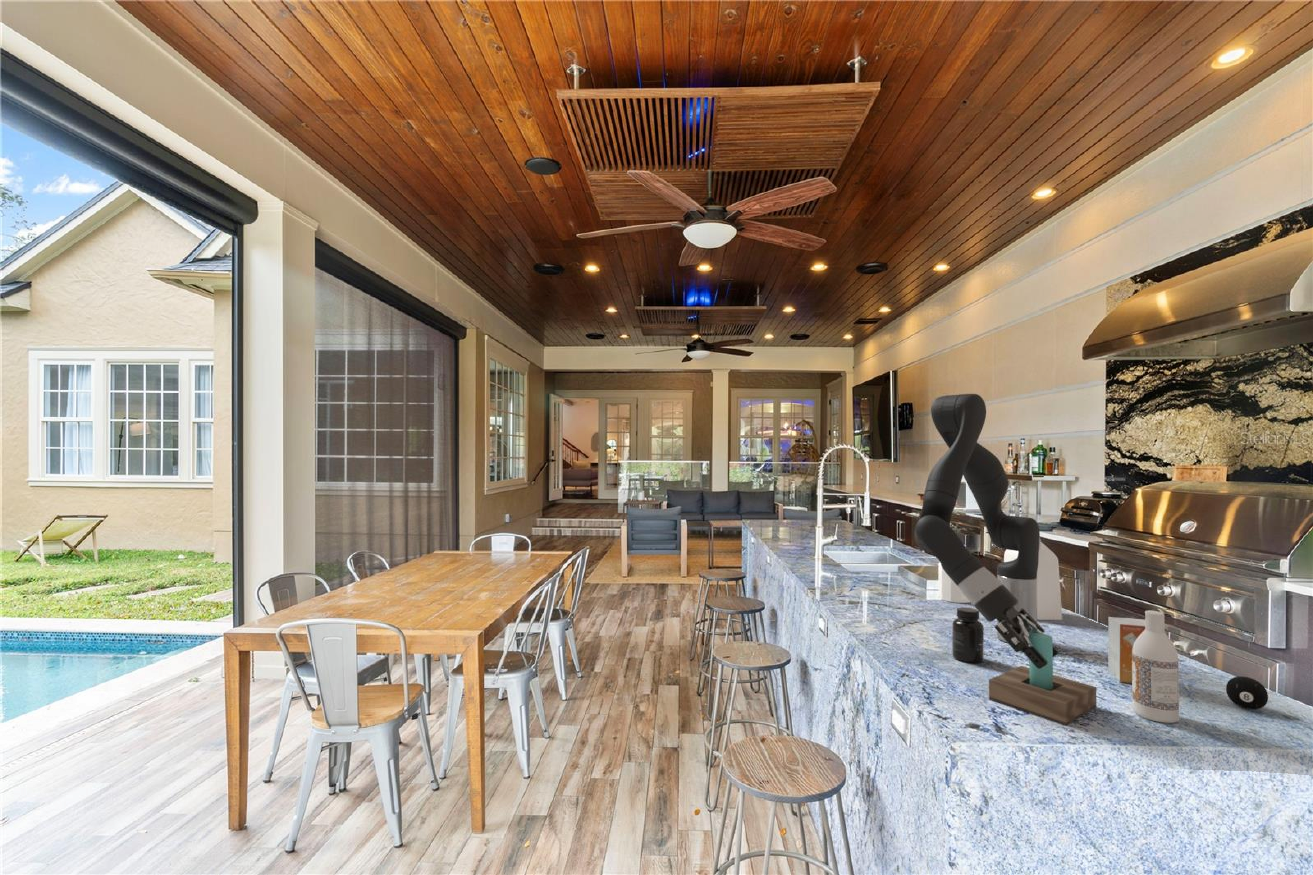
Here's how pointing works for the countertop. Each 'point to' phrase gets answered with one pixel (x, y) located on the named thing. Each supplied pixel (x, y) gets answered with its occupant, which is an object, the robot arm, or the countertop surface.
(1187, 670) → the countertop surface
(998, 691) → the bore block
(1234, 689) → the billiard ball
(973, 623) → the supplement bottle
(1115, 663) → the small box
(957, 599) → the toilet paper
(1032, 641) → the pin
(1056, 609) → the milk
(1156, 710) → the bath foam
